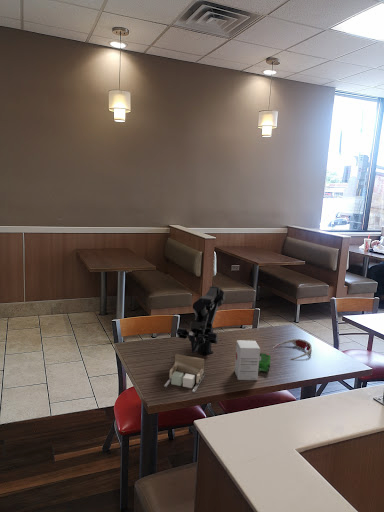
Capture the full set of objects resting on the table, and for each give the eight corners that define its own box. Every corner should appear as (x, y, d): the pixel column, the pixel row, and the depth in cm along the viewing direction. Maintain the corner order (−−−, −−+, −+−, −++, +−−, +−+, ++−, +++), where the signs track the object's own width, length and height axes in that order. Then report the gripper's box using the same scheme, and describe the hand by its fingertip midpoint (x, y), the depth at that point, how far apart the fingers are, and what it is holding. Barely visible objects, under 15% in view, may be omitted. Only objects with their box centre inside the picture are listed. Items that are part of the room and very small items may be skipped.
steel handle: (176, 370, 180) (176, 369, 180) (204, 375, 176) (204, 374, 176) (164, 386, 165) (164, 385, 165) (194, 392, 161) (194, 391, 161)
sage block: (174, 380, 171) (174, 371, 170) (183, 381, 170) (183, 373, 169) (171, 384, 167) (171, 375, 166) (180, 386, 166) (180, 377, 165)
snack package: (253, 374, 180) (254, 363, 179) (255, 359, 195) (256, 349, 195) (268, 376, 179) (270, 365, 178) (270, 361, 194) (271, 351, 193)
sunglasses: (319, 356, 203) (318, 347, 201) (291, 366, 197) (290, 357, 196) (298, 344, 218) (297, 335, 217) (271, 352, 213) (271, 343, 212)
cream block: (185, 382, 169) (185, 373, 169) (194, 383, 168) (195, 375, 168) (182, 386, 166) (183, 377, 165) (191, 388, 165) (192, 379, 164)
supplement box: (233, 370, 182) (236, 339, 180) (253, 371, 183) (255, 340, 180) (237, 380, 173) (240, 347, 171) (257, 380, 174) (260, 348, 171)
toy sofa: (174, 370, 178) (175, 353, 177) (204, 375, 174) (205, 359, 173) (168, 378, 170) (169, 361, 169) (199, 384, 167) (200, 366, 165)
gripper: (178, 310, 183) (169, 342, 175) (218, 316, 178) (210, 348, 170) (183, 322, 192) (174, 352, 183) (220, 327, 187) (213, 359, 178)
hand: (192, 352), depth 178 cm, fingers closed
